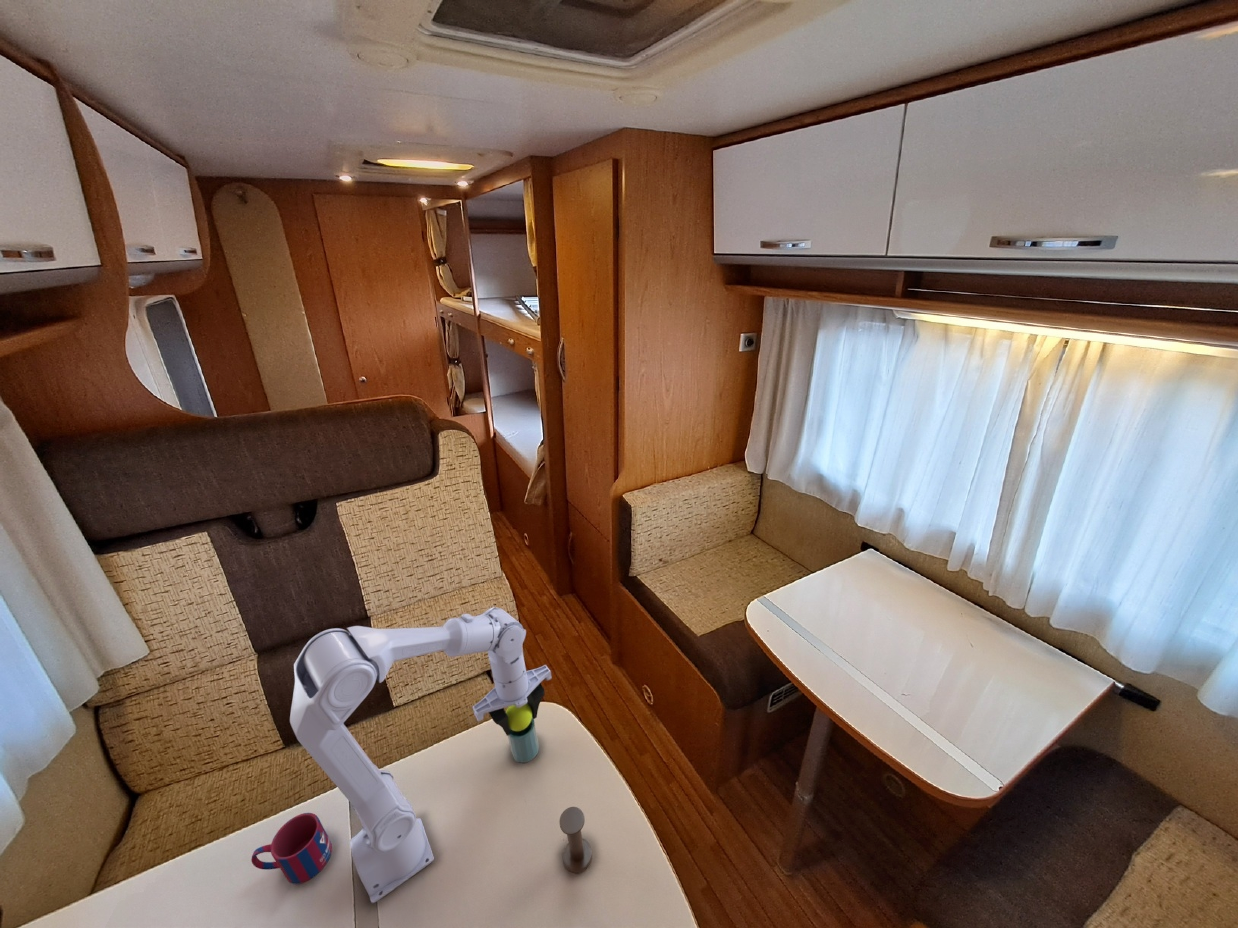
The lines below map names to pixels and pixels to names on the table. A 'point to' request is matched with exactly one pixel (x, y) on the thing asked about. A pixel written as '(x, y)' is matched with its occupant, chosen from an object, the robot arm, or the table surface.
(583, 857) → the stand
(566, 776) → the table surface
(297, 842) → the cup
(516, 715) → the ball
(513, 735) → the tumbler
